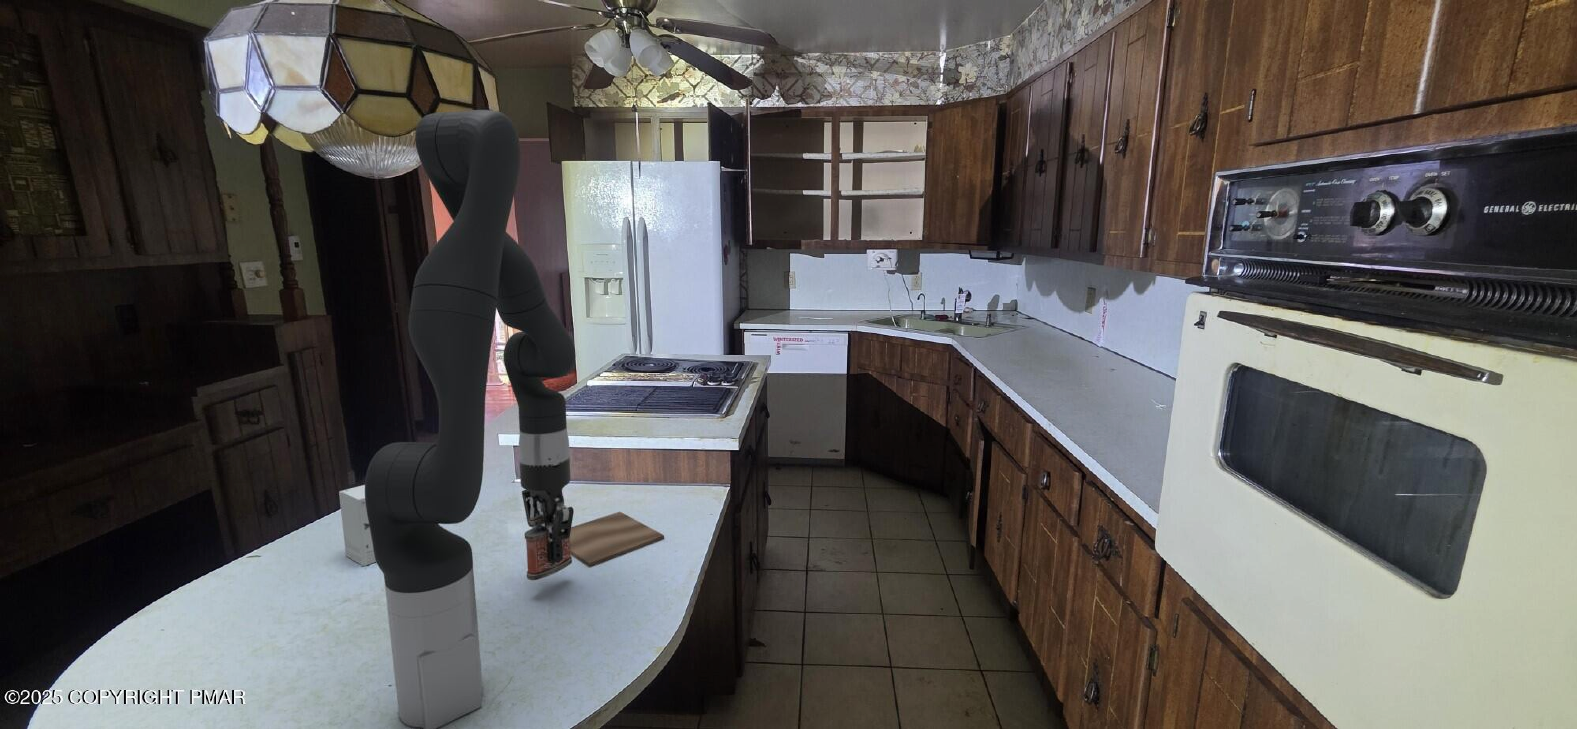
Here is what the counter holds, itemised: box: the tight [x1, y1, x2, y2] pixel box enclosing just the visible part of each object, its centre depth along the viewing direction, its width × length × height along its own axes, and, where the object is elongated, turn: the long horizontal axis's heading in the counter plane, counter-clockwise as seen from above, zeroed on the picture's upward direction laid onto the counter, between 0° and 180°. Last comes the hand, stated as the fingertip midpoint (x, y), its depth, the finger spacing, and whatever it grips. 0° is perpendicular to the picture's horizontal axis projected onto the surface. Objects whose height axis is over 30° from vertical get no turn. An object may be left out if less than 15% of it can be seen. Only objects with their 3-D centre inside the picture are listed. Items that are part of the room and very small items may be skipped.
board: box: [570, 511, 665, 568], centre depth 123 cm, size 16×16×1 cm
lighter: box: [524, 515, 573, 581], centre depth 103 cm, size 8×3×10 cm, turn 149°
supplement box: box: [338, 484, 377, 567], centre depth 115 cm, size 7×7×13 cm
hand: (549, 556), depth 103 cm, fingers closed on lighter, 3 cm apart
